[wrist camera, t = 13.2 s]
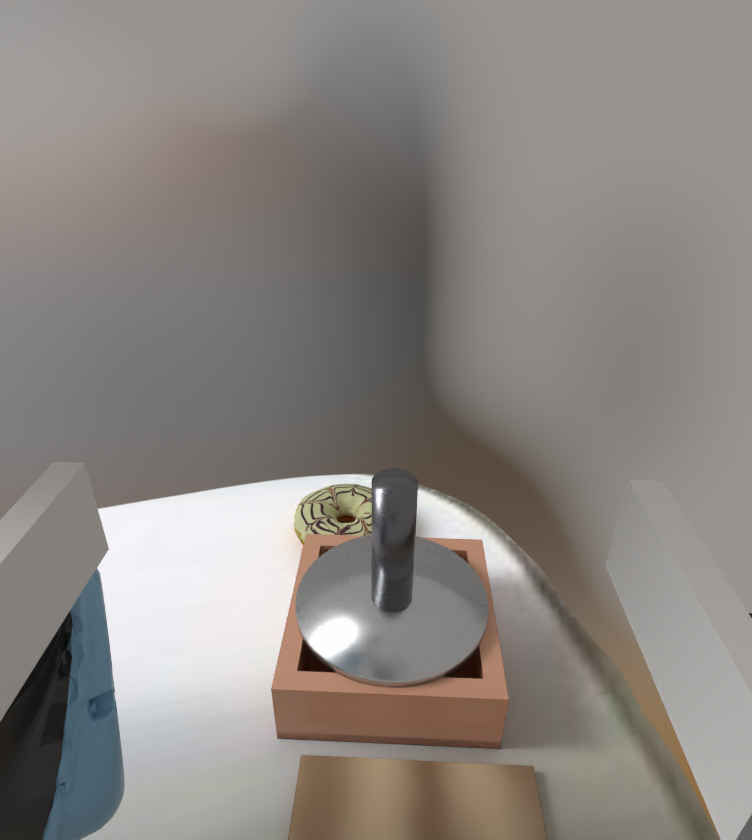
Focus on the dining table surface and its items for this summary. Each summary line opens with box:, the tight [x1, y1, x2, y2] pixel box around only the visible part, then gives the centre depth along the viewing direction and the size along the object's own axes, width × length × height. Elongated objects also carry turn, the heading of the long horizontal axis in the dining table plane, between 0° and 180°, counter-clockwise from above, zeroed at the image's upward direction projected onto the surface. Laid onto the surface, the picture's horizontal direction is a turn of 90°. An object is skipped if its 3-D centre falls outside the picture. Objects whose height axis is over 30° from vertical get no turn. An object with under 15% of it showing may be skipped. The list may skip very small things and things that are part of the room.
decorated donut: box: [294, 484, 372, 545], centre depth 61 cm, size 10×11×4 cm
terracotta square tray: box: [271, 534, 509, 749], centre depth 48 cm, size 16×16×6 cm
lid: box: [295, 469, 489, 688], centre depth 44 cm, size 15×15×12 cm
